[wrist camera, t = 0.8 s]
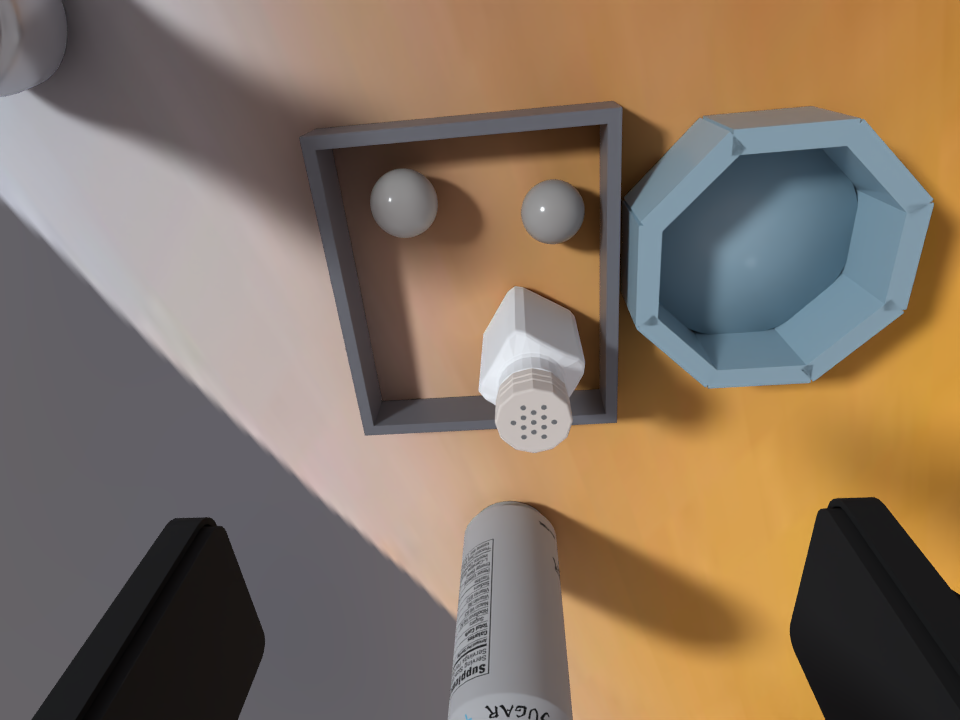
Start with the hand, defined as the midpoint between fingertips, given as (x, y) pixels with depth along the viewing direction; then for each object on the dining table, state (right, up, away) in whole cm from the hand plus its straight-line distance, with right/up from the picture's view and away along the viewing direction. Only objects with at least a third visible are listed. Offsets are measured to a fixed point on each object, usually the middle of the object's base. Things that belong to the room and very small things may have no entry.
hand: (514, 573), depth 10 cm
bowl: (+13, +10, +21) cm, 26 cm away
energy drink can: (+1, -8, +31) cm, 32 cm away
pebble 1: (-4, +12, +21) cm, 24 cm away
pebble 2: (+3, +11, +20) cm, 23 cm away
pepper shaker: (+2, +5, +24) cm, 25 cm away
